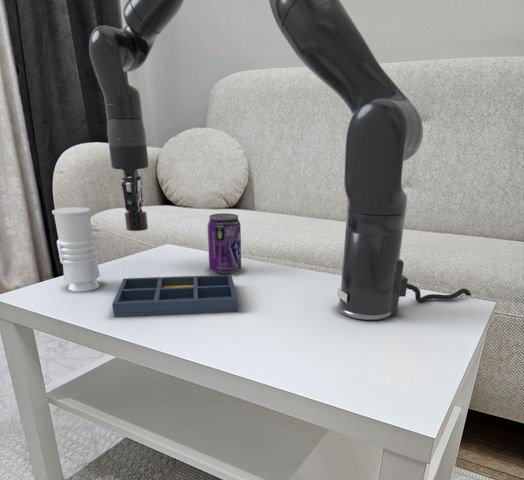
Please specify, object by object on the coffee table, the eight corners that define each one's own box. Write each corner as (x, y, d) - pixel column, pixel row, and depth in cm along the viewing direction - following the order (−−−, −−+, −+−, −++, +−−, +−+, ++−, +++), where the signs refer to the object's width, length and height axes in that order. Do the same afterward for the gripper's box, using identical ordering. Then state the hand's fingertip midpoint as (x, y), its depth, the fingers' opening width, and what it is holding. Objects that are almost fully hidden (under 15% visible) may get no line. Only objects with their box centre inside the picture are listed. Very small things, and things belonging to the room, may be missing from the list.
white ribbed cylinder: (61, 285, 96) (46, 209, 89) (95, 279, 100) (83, 206, 93) (71, 294, 91) (57, 214, 84) (106, 288, 95) (95, 210, 88)
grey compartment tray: (231, 286, 96) (231, 274, 95) (237, 311, 83) (237, 298, 82) (124, 290, 94) (123, 278, 93) (113, 316, 81) (112, 303, 80)
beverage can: (226, 277, 102) (225, 220, 96) (202, 271, 105) (199, 216, 100) (247, 269, 107) (247, 215, 101) (224, 264, 110) (222, 211, 105)
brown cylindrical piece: (148, 226, 108) (147, 210, 106) (147, 230, 103) (145, 214, 102) (128, 227, 107) (126, 211, 106) (125, 231, 103) (123, 214, 101)
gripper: (143, 145, 92) (152, 233, 99) (149, 142, 105) (156, 221, 112) (103, 145, 91) (115, 234, 98) (114, 142, 104) (124, 222, 111)
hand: (137, 227), depth 105 cm, fingers closed on brown cylindrical piece, 4 cm apart
